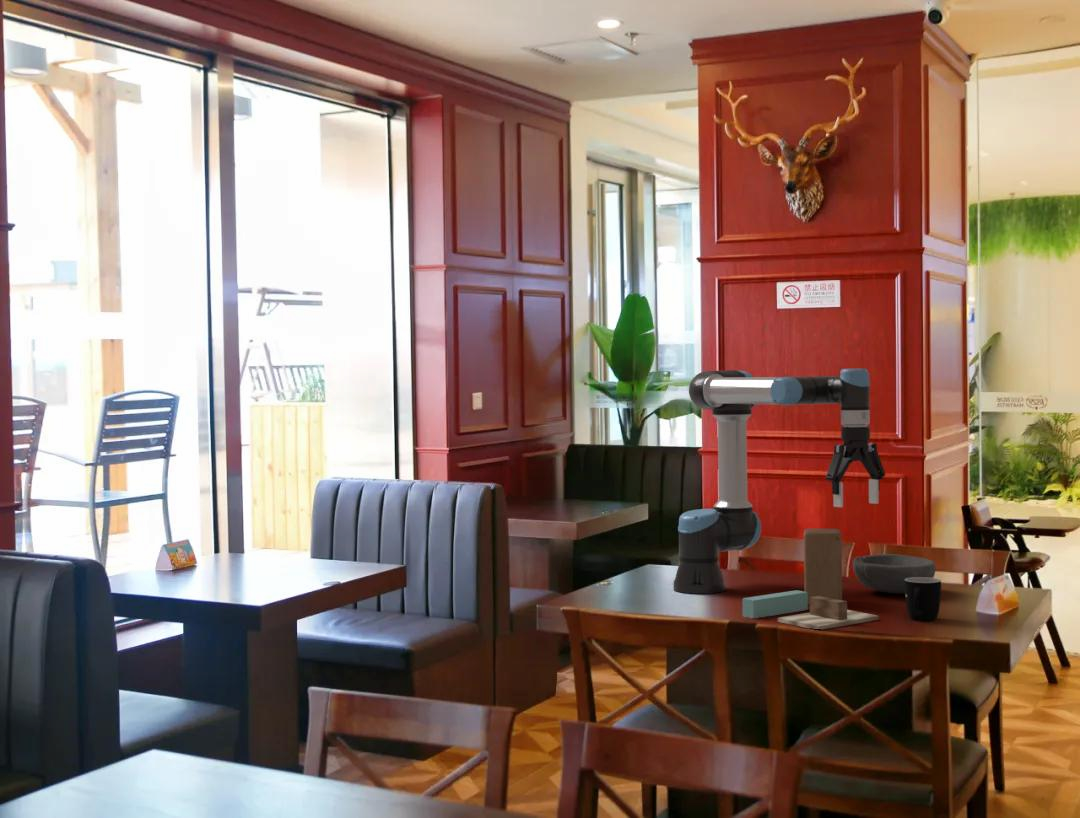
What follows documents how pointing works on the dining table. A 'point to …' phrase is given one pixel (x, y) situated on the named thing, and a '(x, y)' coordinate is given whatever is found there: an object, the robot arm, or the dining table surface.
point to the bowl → (891, 571)
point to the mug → (923, 598)
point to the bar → (775, 604)
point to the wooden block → (823, 563)
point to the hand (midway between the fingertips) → (856, 505)
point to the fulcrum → (827, 615)
